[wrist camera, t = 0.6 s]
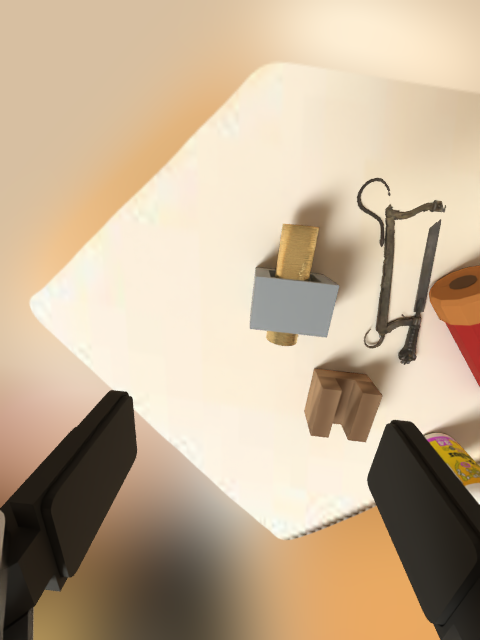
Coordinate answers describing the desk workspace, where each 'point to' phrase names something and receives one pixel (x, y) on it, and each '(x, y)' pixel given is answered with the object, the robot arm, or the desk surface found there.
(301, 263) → the axle
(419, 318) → the hacksaw
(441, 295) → the shell casing
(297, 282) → the grey hollow block
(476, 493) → the supplement bottle
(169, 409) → the desk surface
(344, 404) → the v block
